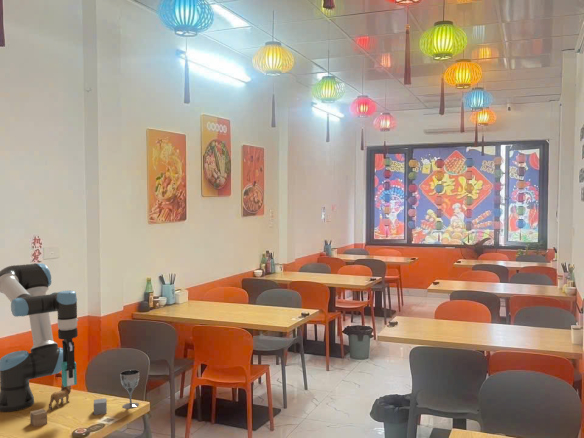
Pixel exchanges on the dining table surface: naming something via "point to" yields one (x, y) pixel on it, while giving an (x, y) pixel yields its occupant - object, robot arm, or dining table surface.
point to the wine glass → (130, 385)
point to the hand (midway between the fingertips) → (69, 383)
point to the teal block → (64, 374)
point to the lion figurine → (60, 396)
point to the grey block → (100, 406)
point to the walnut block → (38, 417)
